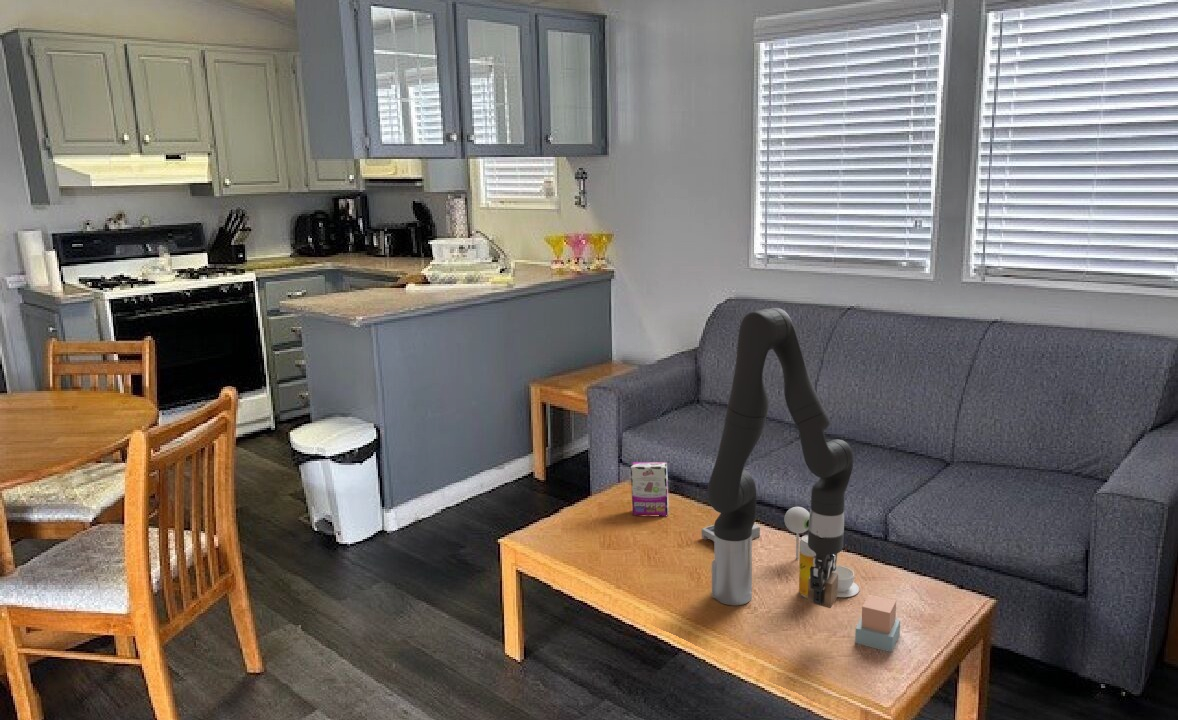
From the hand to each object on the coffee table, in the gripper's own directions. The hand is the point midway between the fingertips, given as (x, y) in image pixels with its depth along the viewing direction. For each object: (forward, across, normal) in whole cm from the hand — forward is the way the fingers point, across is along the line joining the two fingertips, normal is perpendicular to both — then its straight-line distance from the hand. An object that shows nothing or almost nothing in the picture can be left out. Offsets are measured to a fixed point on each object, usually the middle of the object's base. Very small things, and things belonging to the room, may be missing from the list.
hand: (822, 596), depth 187 cm
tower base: (+10, -5, +12) cm, 16 cm away
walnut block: (+1, 0, 0) cm, 1 cm away
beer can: (+11, -18, -7) cm, 22 cm away
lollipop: (+11, -35, -16) cm, 40 cm away
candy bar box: (+13, -44, -66) cm, 81 cm away
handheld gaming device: (+12, -39, -38) cm, 55 cm away
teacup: (+11, -24, -2) cm, 26 cm away
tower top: (+6, -5, +12) cm, 14 cm away
